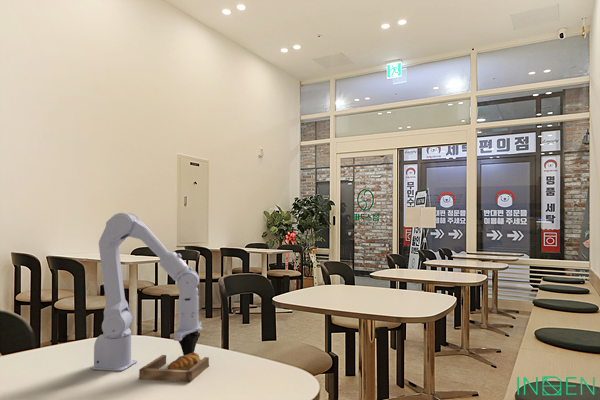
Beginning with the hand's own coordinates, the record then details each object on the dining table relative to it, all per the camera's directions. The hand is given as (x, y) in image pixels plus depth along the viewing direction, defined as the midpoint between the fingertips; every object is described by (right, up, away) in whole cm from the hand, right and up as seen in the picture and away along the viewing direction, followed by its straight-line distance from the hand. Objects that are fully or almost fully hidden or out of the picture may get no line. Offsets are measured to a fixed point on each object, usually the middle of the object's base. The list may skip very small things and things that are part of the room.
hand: (188, 358), depth 123 cm
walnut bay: (-1, -1, -8) cm, 8 cm away
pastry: (+1, -1, -6) cm, 6 cm away
